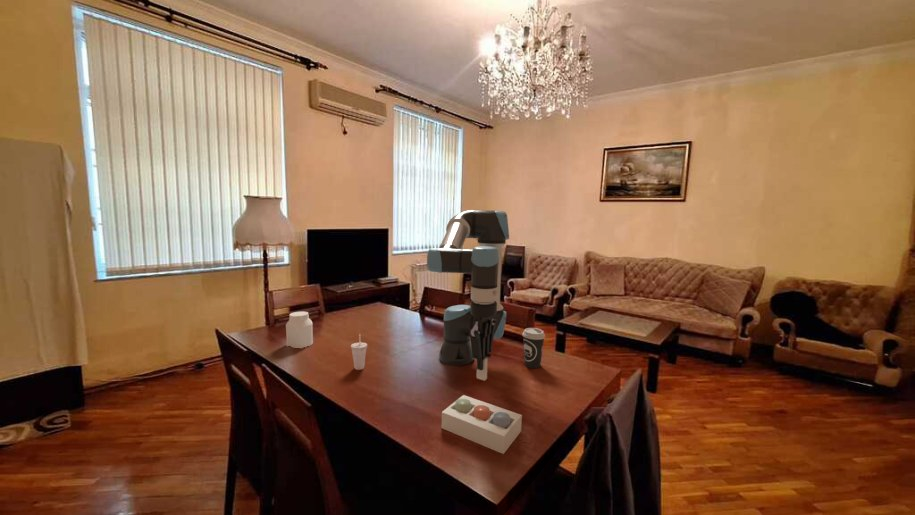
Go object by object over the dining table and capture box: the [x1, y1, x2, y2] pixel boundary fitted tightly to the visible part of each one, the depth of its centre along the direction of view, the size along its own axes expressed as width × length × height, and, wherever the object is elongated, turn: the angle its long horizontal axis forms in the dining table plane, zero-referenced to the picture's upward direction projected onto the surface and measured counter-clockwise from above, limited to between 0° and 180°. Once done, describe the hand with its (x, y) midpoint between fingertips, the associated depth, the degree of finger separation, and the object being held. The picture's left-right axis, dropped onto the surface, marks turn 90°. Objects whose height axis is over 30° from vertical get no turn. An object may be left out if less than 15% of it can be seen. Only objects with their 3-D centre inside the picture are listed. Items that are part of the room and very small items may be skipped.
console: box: [441, 394, 523, 455], centre depth 101 cm, size 20×12×5 cm, turn 57°
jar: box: [285, 311, 314, 349], centre depth 165 cm, size 12×10×15 cm
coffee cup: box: [521, 327, 546, 369], centre depth 146 cm, size 10×10×15 cm
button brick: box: [474, 405, 490, 421], centre depth 101 cm, size 5×5×6 cm
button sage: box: [455, 398, 471, 414], centre depth 105 cm, size 5×5×6 cm
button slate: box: [493, 412, 510, 429], centre depth 98 cm, size 5×5×6 cm
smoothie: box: [350, 333, 368, 371], centre depth 140 cm, size 6×6×14 cm
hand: (481, 378), depth 103 cm, fingers closed
